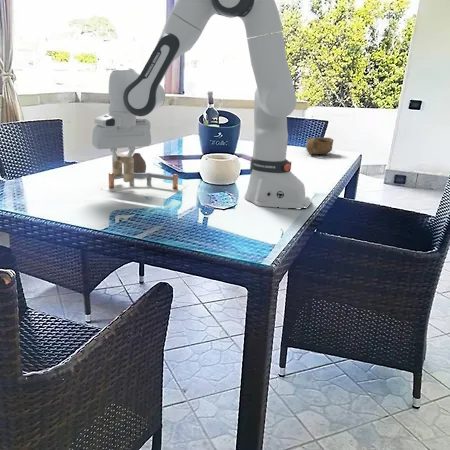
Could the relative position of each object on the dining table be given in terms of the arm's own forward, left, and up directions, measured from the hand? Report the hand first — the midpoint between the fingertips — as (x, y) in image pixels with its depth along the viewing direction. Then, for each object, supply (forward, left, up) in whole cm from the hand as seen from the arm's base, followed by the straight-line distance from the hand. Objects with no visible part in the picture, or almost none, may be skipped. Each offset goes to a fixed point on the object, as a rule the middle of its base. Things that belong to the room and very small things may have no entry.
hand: (122, 160), depth 167 cm
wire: (-7, -1, -9) cm, 12 cm away
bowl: (-53, -106, -10) cm, 119 cm away
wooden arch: (0, 0, -6) cm, 6 cm away
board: (-8, -2, -10) cm, 13 cm away
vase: (+4, -18, -10) cm, 21 cm away
